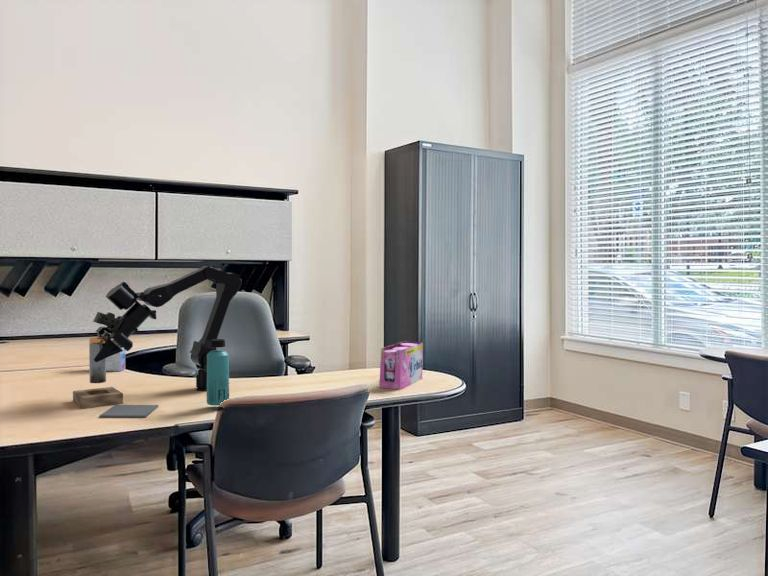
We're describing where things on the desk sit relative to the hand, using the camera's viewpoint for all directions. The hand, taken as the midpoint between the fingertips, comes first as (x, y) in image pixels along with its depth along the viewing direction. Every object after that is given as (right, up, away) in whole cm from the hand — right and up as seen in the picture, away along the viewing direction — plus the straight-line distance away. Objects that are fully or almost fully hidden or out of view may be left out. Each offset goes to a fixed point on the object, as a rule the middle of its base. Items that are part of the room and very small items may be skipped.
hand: (92, 359), depth 181 cm
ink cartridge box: (-18, -10, +52) cm, 56 cm away
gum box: (+91, -13, +39) cm, 100 cm away
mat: (+15, -13, -9) cm, 22 cm away
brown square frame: (+1, -13, +2) cm, 13 cm away
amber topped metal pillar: (+1, -7, +1) cm, 7 cm away
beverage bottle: (+37, -14, -2) cm, 40 cm away
